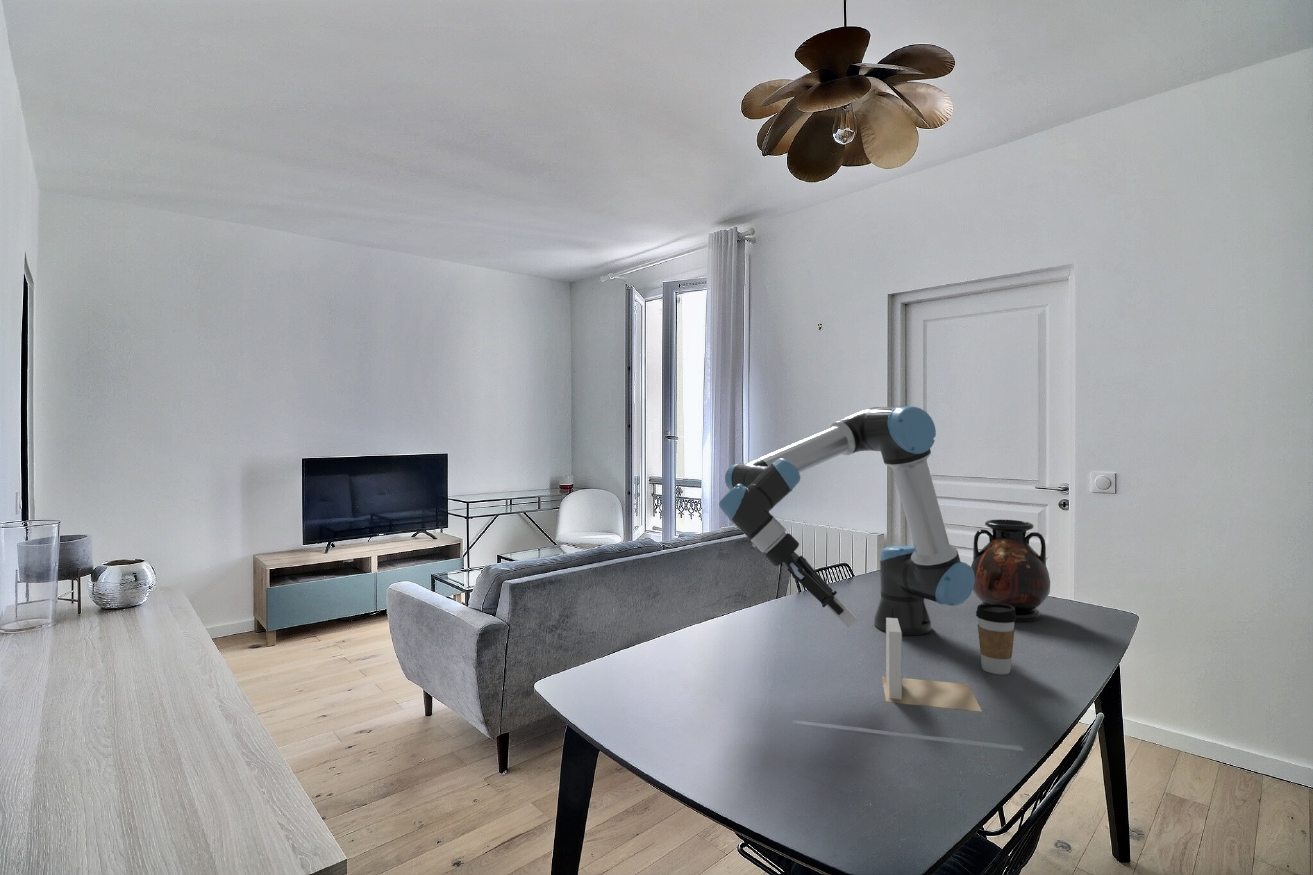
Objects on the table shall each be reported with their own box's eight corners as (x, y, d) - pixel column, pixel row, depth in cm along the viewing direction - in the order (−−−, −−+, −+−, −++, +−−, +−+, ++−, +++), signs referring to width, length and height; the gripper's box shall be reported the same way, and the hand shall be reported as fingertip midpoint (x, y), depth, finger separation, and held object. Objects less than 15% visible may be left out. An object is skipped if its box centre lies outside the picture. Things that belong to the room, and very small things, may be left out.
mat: (885, 704, 133) (885, 701, 133) (881, 678, 146) (881, 676, 146) (981, 714, 128) (981, 711, 128) (968, 686, 141) (968, 684, 141)
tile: (889, 698, 135) (889, 631, 134) (886, 679, 144) (886, 617, 144) (902, 699, 134) (902, 632, 134) (898, 680, 144) (898, 618, 143)
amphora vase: (1045, 609, 200) (1045, 519, 199) (1055, 629, 180) (1055, 529, 180) (968, 601, 209) (968, 515, 208) (969, 620, 189) (969, 525, 189)
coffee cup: (1021, 677, 146) (1022, 612, 146) (981, 675, 148) (981, 610, 148) (1009, 664, 154) (1009, 602, 154) (971, 662, 156) (971, 600, 156)
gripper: (767, 548, 152) (840, 625, 148) (760, 559, 140) (839, 643, 135) (790, 527, 151) (864, 603, 146) (785, 536, 138) (866, 620, 134)
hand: (852, 622), depth 141 cm, fingers closed
